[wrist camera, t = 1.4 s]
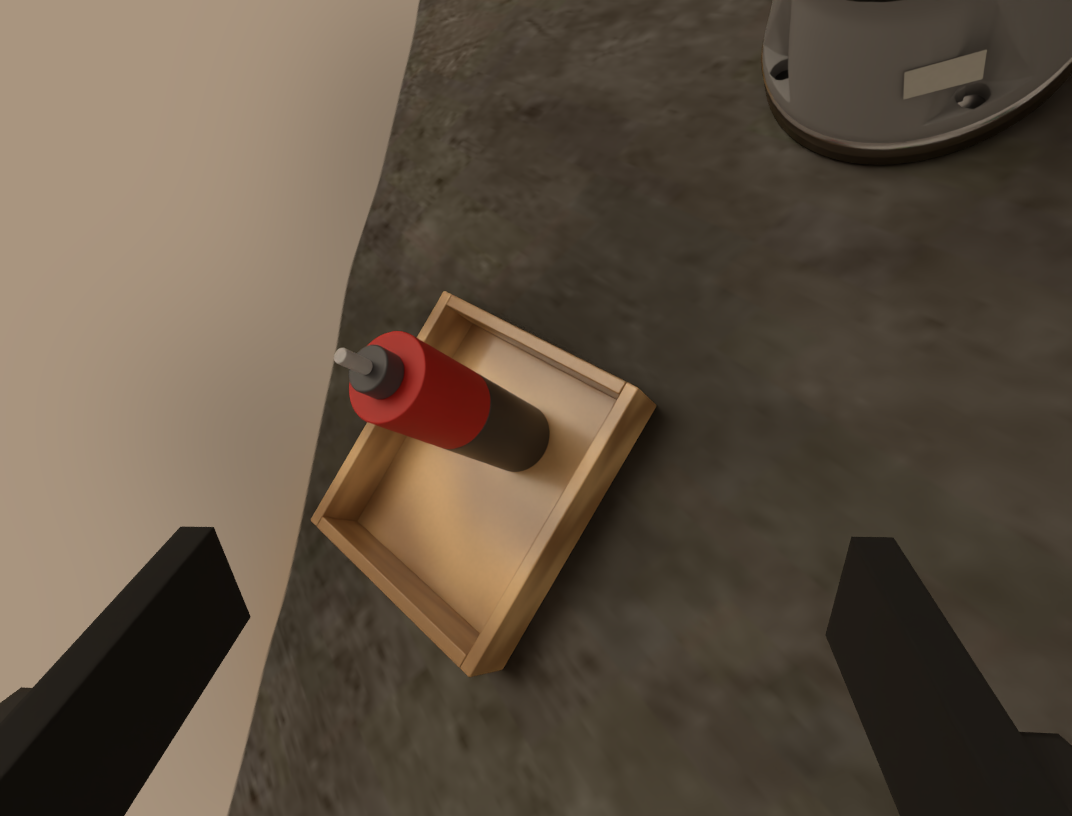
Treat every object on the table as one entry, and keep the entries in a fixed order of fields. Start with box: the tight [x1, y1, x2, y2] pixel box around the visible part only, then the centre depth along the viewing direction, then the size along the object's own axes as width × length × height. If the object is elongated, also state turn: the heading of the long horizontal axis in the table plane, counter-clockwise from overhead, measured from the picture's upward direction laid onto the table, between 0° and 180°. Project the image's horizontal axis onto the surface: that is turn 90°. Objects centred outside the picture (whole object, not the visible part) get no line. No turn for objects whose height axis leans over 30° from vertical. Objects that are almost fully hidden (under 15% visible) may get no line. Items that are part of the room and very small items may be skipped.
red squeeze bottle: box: [334, 331, 550, 472], centre depth 31 cm, size 4×4×15 cm
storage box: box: [311, 291, 656, 677], centre depth 37 cm, size 18×16×4 cm
